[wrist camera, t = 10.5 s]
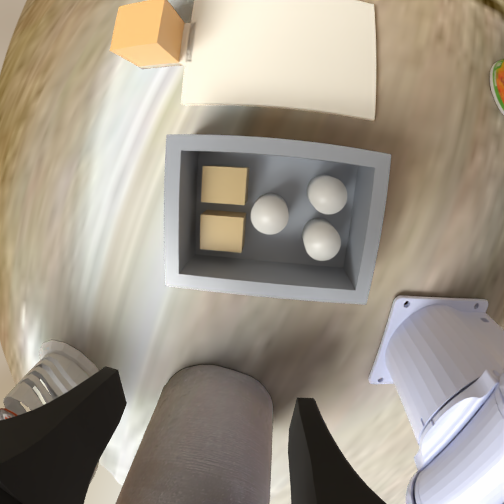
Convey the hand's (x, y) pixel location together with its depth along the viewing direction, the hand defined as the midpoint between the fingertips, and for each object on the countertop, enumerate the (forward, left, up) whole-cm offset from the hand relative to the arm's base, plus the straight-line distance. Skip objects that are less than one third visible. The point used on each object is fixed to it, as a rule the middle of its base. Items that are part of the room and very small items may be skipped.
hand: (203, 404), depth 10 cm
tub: (-2, -6, -10) cm, 12 cm away
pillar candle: (+1, +11, -10) cm, 15 cm away
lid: (0, -17, -10) cm, 19 cm away
